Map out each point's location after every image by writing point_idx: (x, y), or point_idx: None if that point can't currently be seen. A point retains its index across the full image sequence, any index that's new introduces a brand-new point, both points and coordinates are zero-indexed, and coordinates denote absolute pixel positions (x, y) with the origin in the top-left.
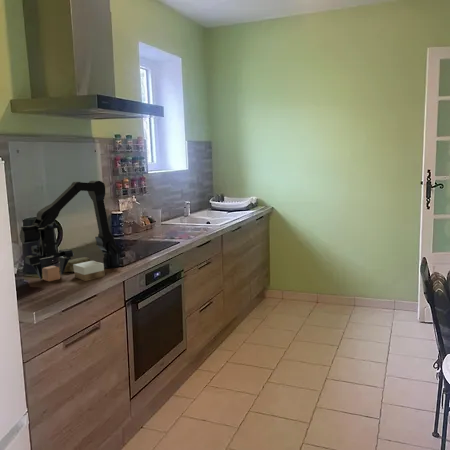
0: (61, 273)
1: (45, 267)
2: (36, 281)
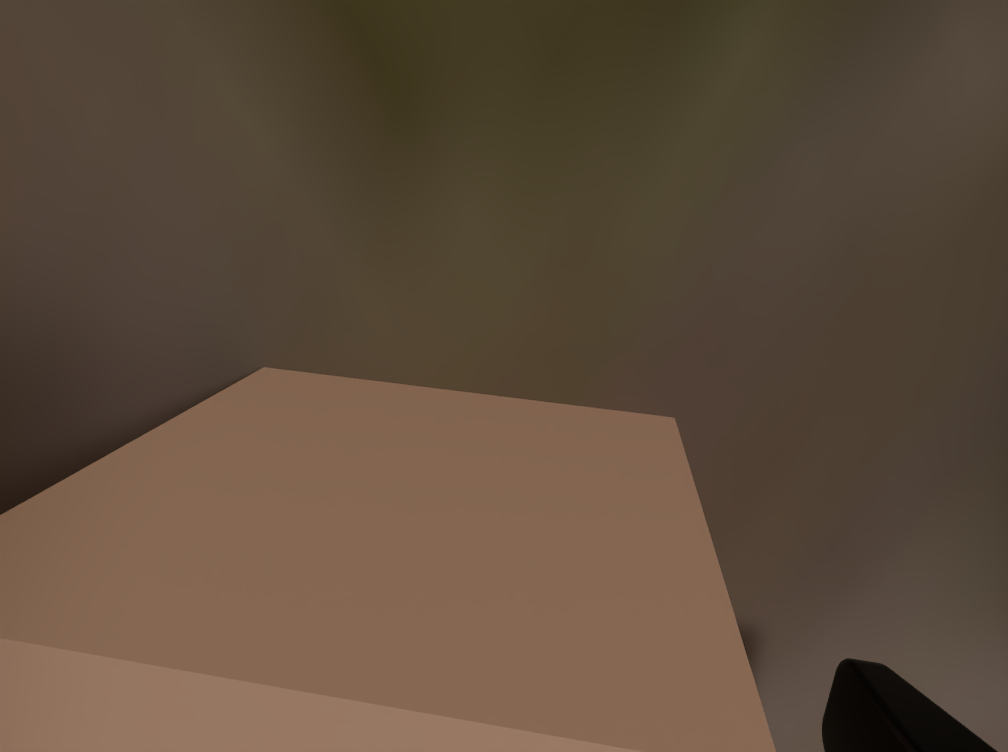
0: (840, 720)
1: (57, 689)
2: (28, 403)
